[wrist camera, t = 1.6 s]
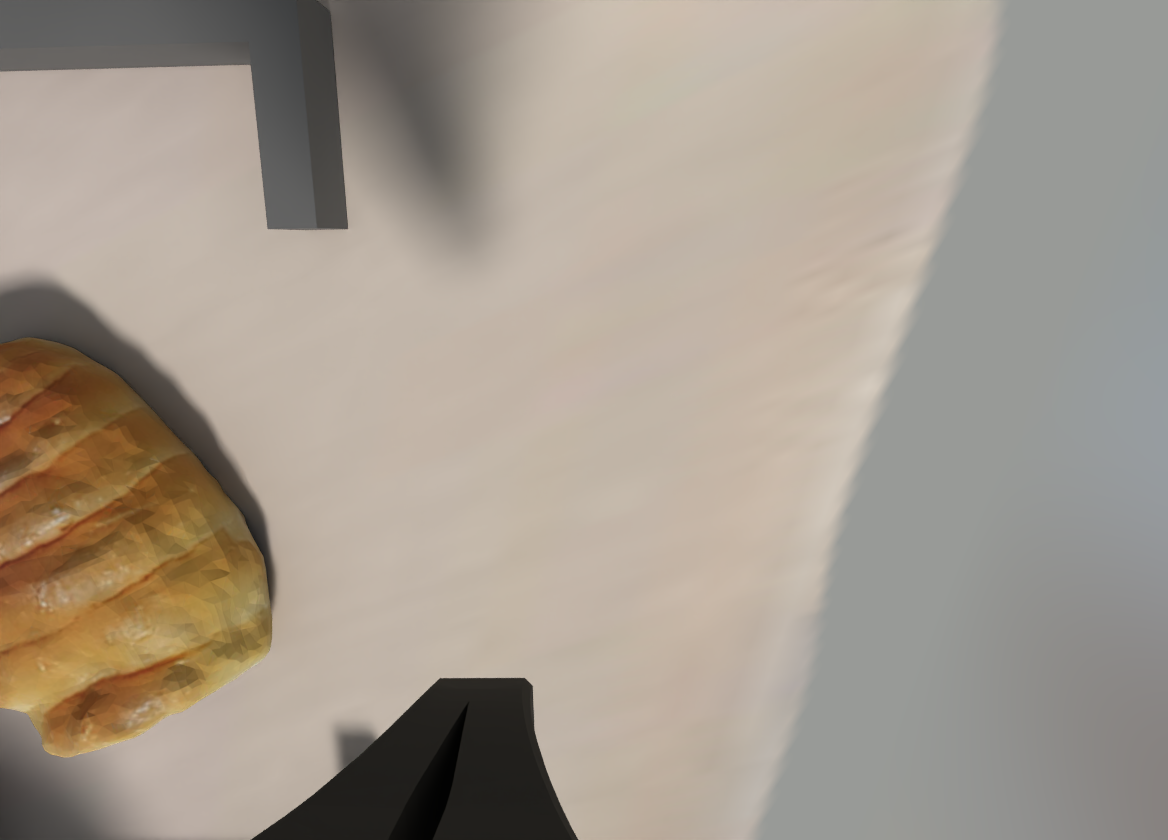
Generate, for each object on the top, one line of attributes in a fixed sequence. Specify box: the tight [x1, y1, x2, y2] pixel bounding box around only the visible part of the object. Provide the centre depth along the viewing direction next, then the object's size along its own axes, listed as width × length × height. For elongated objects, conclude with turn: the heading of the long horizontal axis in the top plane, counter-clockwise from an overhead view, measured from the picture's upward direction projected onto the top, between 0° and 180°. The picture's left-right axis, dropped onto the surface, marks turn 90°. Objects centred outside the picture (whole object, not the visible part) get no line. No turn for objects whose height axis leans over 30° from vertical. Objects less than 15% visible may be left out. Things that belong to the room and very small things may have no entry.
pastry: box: [0, 337, 272, 758], centre depth 18 cm, size 9×7×4 cm
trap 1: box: [0, 0, 348, 230], centre depth 17 cm, size 4×12×2 cm, turn 91°
